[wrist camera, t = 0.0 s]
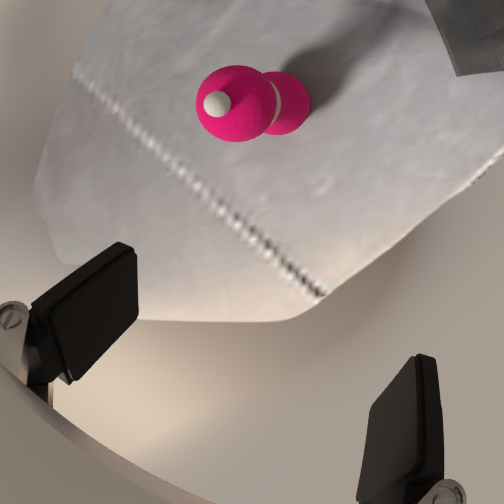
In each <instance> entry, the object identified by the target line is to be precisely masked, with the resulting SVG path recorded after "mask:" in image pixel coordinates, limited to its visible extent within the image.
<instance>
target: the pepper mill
mask: <svg viewBox="0 0 504 504" xmlns="http://www.w3.org/2000/svg"><path fill="white" fill-rule="evenodd" d="M310 106H311V101H310V96H309V94H308V92H307V90H306V88H305V87H304V85H303V84H302V83H301V82H300V81H299V80H298V79H297V78H295V77H294V76H292V75H290V74H288V73H284V72H266V73H263V74H262V73H261V72H259V71H257V70H256V69H253V68H251V67H248V66H240V65H233V66H227V67H223V68H221V69H218V70H216V71H214V72H213V73H211V74H210V75H209V76H208V77H207V78H206V79H205V80H204V81H203V83H202V84H201V86H200V88H199V90H198V94H197V98H196V110H197V115H198V118H199V120H200V122H201V124H202V125H203V127H204V128H205V129H206V130H207V131H208V132H209V133H210V134H212V135H213V136H215V137H217V138H219V139H222V140H225V141H229V142H242V141H247V140H250V139H253V138H256V137H257V136H259V135H261V134H262V133H266V134H271V135H283V134H287V133H290V132H292V131H294V130H296V129H297V128H298V127H300V126H301V125H302V123H303V122H304V121H305V119H306V117H307V116H308V114H309V112H310Z"/></svg>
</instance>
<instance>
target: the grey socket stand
mask: <svg viewBox="0 0 504 504" xmlns="http://www.w3.org/2000/svg"><path fill="white" fill-rule="evenodd" d="M425 2H426V4H427V6H428V8H429V10H430V12H431V14H432V16H433V18H434V20H435V23H436V25H437V27H438V29H439V32H440V34H441V36H442V39H443V41H444V44H445V46H446V49H447V51H448V54H449V56H450V59H451V62H452V65H453V67H454V70H455V73H456V76H457V77H458V76H465V75H472V74H480V73H489V72H498V71H504V0H425Z"/></svg>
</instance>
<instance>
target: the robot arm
mask: <svg viewBox="0 0 504 504" xmlns="http://www.w3.org/2000/svg"><path fill="white" fill-rule="evenodd" d="M31 305H32V308H31V309H30V310H28V308H27V306H26V305H25V304H24V303H21V302H19V301H9V302H6V303H3V304H1V305H0V504H216V503H213V502H210V501H208V500H205V499H203V498H201V497H199V496H196V495H194V494H192V493H190V492H187V491H185V490H183V489H181V488H179V487H177V486H174V485H172V484H170V483H168V482H166V481H164V480H162V479H160V478H158V477H157V476H154V475H153V474H151V473H149V472H147V471H145V470H143V469H142V468H140V467H138V466H136V465H135V464H133V463H131V462H130V461H128V460H126V459H124V458H123V457H121V456H120V455H118V454H116V453H115V452H113V451H111V450H110V449H108V448H107V447H105V446H104V445H102V444H101V443H99V442H98V441H96V440H95V439H93V438H92V437H90V436H89V435H87V434H86V433H85V432H83V431H82V430H80V429H79V428H78V427H76V426H75V425H74V424H72V423H71V422H70V421H68V420H67V419H66V418H64V417H63V416H62V415H60V414H59V413H58V412H57V411H56V410H54V409H53V382H54V380H55V379H56V378H57V377H59V378H60V379H61V380H62V381H64V382H65V383H66V384H68V385H70V384H71V383H72V382H73V381H74V380H75V381H77V380H79V379H80V378H81V377H82V376H83V375H84V374H85V373H86V372H87V371H88V370H89V369H90V368H91V367H92V365H93V364H94V363H95V362H96V361H97V360H98V359H99V358H100V357H101V356H102V355H103V354H104V353H105V352H106V351H107V350H108V349H109V348H110V346H111V345H112V344H113V343H114V342H115V341H116V340H117V339H118V338H119V337H120V336H121V335H122V334H123V333H124V332H125V331H126V330H127V329H128V328H129V327H130V326H131V325H132V324H133V322H135V320H136V319H137V317H138V313H139V307H138V279H137V255H136V253H135V252H134V249H133V248H132V247H131V246H128V245H126V244H124V243H121V242H116V243H114V244H113V245H111V246H110V247H108V248H107V249H105V250H104V251H103V252H101V253H100V254H98V255H97V256H95V257H94V258H92V259H91V260H90V261H88V262H87V263H85V264H84V265H82V266H81V267H80V268H78V269H77V270H75V271H74V272H73V273H71V274H70V275H69V276H67V277H66V278H64V279H63V280H62V281H60V282H59V283H58V284H56V285H55V286H53V287H52V288H51V289H49V290H48V291H47V292H45V293H44V294H43V295H41V296H40V297H39V298H38V299H36V300H35V301H34V302H32V303H31ZM356 501H358V502H359V504H466V494H465V491H464V489H463V487H462V486H461V484H459V483H458V482H457V481H455V480H452V479H444V434H443V415H442V407H441V400H440V390H439V381H438V372H437V365H436V360H435V358H433V357H430V356H426V355H423V354H417V355H416V356H415V357H414V356H412V357H410V358H409V360H408V361H407V362H406V364H405V365H404V366H403V368H402V369H401V370H400V371H399V373H398V374H397V375H396V376H395V378H394V379H393V380H392V382H391V383H390V384H389V385H388V386H387V388H386V389H385V390H384V391H383V392H382V394H381V395H380V396H379V397H378V398H377V400H376V401H375V402H374V403H373V405H372V406H371V409H370V412H369V420H368V428H367V435H366V442H365V449H364V456H363V462H362V468H361V473H360V479H359V484H358V489H357V494H356Z"/></svg>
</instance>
